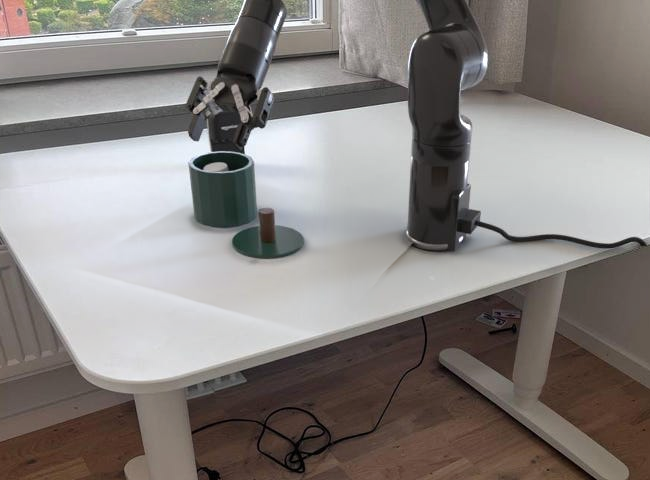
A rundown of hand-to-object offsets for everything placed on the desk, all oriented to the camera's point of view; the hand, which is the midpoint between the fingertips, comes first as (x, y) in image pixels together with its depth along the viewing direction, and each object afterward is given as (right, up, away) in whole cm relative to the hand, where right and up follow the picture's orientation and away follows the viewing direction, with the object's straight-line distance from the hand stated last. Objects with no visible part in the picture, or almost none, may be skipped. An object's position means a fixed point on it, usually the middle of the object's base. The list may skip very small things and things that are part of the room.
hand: (214, 143), depth 125 cm
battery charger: (-4, +3, +29) cm, 29 cm away
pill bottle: (0, -10, +9) cm, 13 cm away
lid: (+9, -16, 0) cm, 18 cm away
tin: (0, -11, +9) cm, 14 cm away
